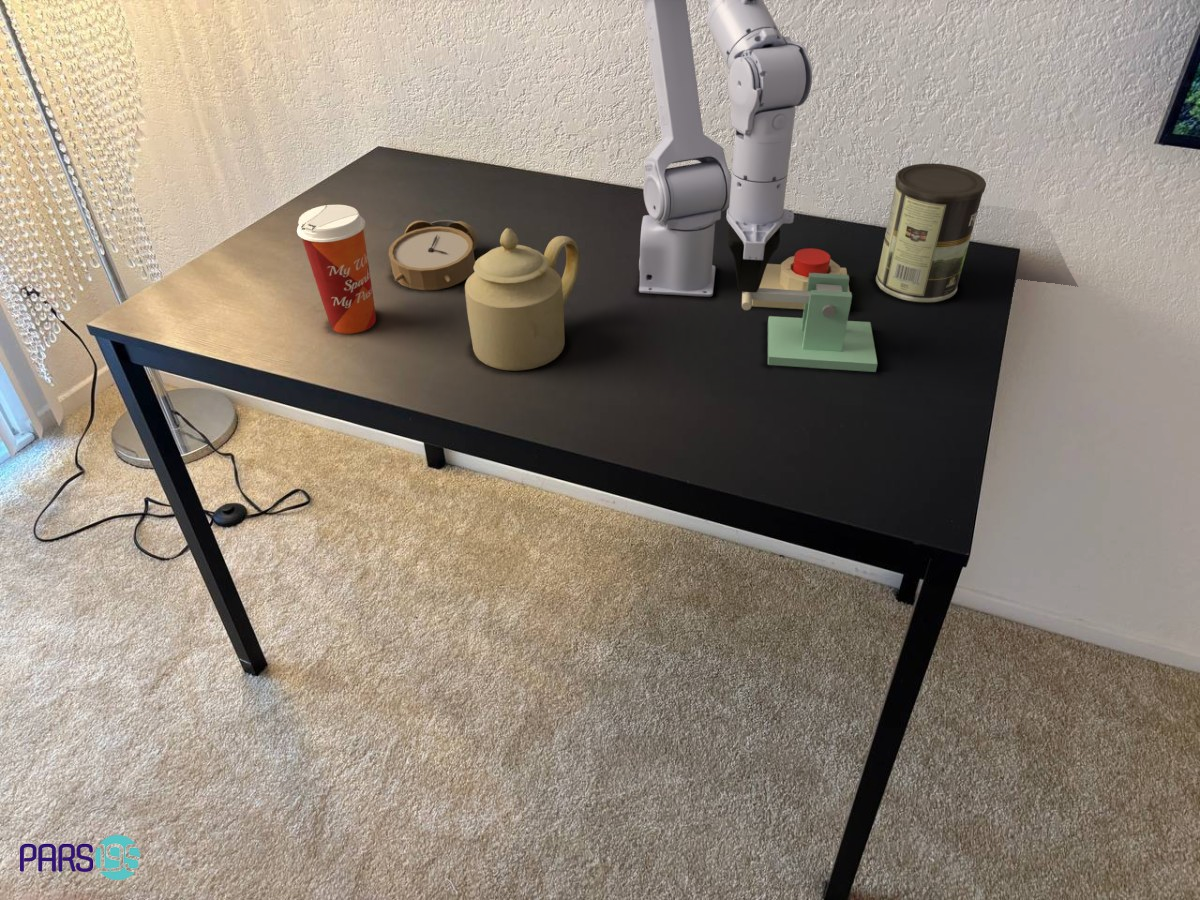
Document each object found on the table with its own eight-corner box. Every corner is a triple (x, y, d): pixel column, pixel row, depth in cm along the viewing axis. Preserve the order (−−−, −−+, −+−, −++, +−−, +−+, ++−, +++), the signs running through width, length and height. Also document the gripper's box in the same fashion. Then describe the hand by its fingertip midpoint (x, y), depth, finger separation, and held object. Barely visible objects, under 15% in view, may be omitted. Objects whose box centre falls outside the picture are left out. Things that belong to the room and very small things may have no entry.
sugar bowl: (502, 302, 111) (490, 189, 101) (584, 311, 108) (581, 197, 99) (458, 365, 99) (440, 245, 90) (549, 377, 97) (541, 255, 88)
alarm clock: (377, 270, 111) (405, 203, 121) (386, 300, 115) (412, 233, 125) (462, 273, 110) (483, 205, 120) (468, 303, 114) (488, 235, 124)
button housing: (751, 306, 108) (754, 282, 106) (752, 272, 115) (755, 248, 113) (849, 312, 107) (854, 287, 105) (844, 277, 114) (848, 253, 111)
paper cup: (353, 344, 103) (328, 236, 94) (308, 328, 106) (279, 221, 98) (398, 315, 108) (377, 210, 99) (353, 300, 112) (330, 197, 103)
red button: (793, 278, 108) (795, 263, 106) (792, 261, 111) (794, 247, 110) (829, 280, 107) (831, 265, 106) (827, 263, 110) (829, 249, 109)
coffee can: (952, 268, 115) (980, 164, 106) (961, 306, 107) (992, 198, 98) (872, 262, 117) (893, 160, 108) (876, 299, 109) (899, 193, 100)
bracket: (767, 365, 98) (775, 301, 93) (767, 324, 105) (775, 262, 100) (875, 372, 97) (890, 307, 91) (868, 330, 104) (881, 268, 98)
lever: (740, 315, 96) (742, 296, 95) (741, 289, 101) (743, 270, 99) (840, 322, 95) (844, 303, 94) (837, 295, 100) (840, 277, 98)
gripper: (801, 202, 83) (784, 324, 91) (797, 147, 94) (783, 261, 102) (727, 199, 84) (718, 320, 92) (732, 145, 95) (723, 258, 103)
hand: (747, 289), depth 97 cm, fingers closed, pressing on lever
